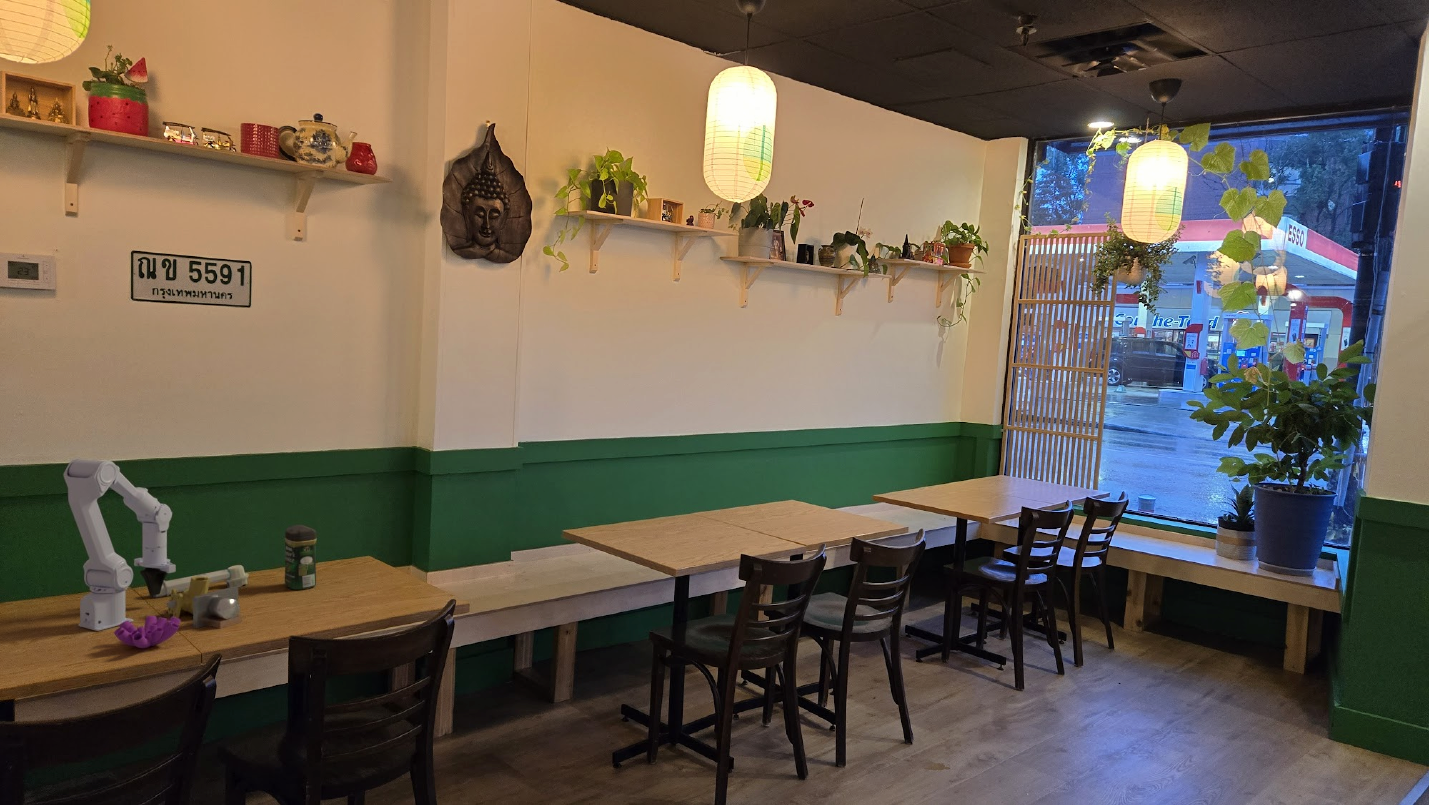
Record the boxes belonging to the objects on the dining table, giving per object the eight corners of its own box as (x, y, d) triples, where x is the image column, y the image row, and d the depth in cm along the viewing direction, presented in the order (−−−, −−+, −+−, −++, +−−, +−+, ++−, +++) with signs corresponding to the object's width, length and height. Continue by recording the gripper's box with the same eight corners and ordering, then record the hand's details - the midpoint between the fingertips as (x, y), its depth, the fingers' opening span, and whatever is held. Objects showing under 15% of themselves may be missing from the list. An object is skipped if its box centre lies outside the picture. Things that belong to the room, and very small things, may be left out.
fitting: (210, 631, 238) (210, 601, 237) (193, 627, 240) (193, 597, 240) (251, 619, 249) (251, 590, 248) (233, 615, 251) (234, 586, 251)
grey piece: (148, 582, 266) (243, 559, 282) (152, 604, 267) (246, 580, 283) (152, 586, 262) (248, 562, 278) (156, 609, 263) (251, 584, 279)
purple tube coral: (112, 665, 221) (100, 628, 224) (177, 648, 234) (165, 614, 236) (131, 645, 216) (118, 608, 218) (196, 629, 228) (184, 595, 231)
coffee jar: (280, 585, 282) (281, 525, 280) (307, 581, 287) (307, 522, 286) (292, 592, 275) (293, 530, 273) (319, 587, 280) (320, 527, 279)
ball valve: (198, 609, 258) (157, 610, 251) (204, 572, 258) (164, 573, 251) (214, 623, 250) (173, 625, 242) (221, 585, 250) (180, 586, 242)
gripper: (186, 547, 255) (185, 595, 256) (151, 540, 261) (151, 587, 262) (161, 552, 249) (161, 601, 250) (126, 544, 255) (126, 593, 256)
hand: (154, 594), depth 255 cm, fingers closed
